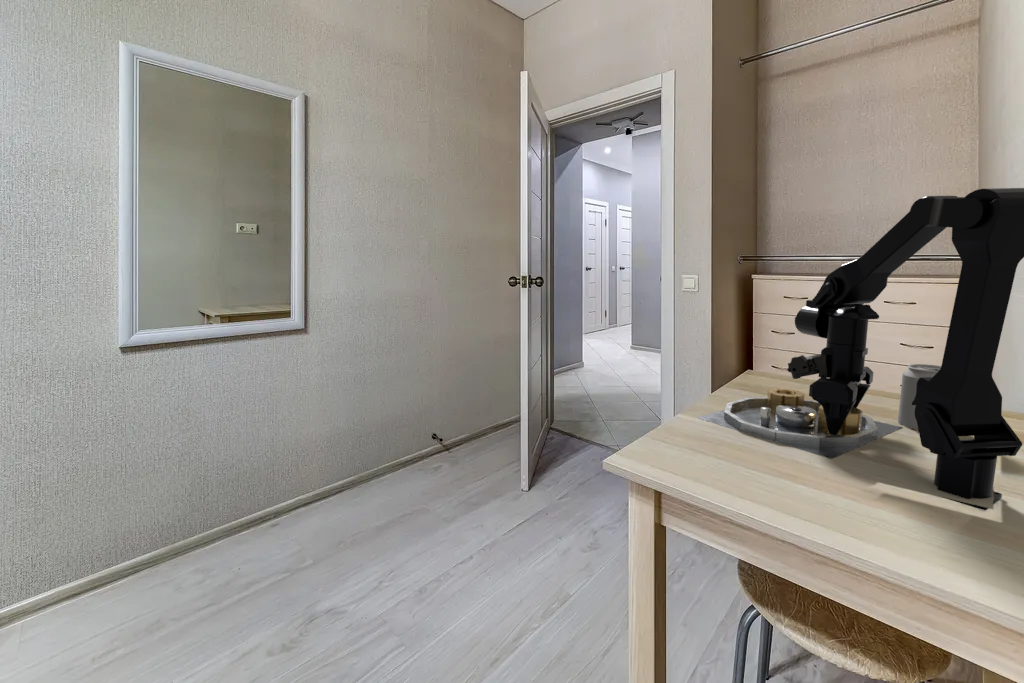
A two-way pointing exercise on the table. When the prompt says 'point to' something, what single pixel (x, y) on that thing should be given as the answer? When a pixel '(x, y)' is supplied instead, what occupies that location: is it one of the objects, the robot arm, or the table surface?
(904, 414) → the can
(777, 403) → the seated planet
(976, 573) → the table surface
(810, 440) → the tray
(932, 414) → the robot arm
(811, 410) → the domed metal knob cap
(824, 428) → the hollow octagonal wooden tube
